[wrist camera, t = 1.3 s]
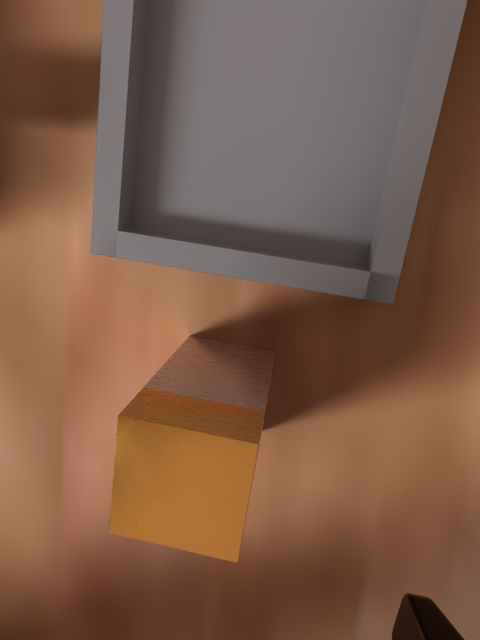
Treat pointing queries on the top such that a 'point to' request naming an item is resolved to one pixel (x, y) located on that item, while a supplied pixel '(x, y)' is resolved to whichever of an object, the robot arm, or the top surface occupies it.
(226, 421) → the block
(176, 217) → the tray
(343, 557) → the top surface
